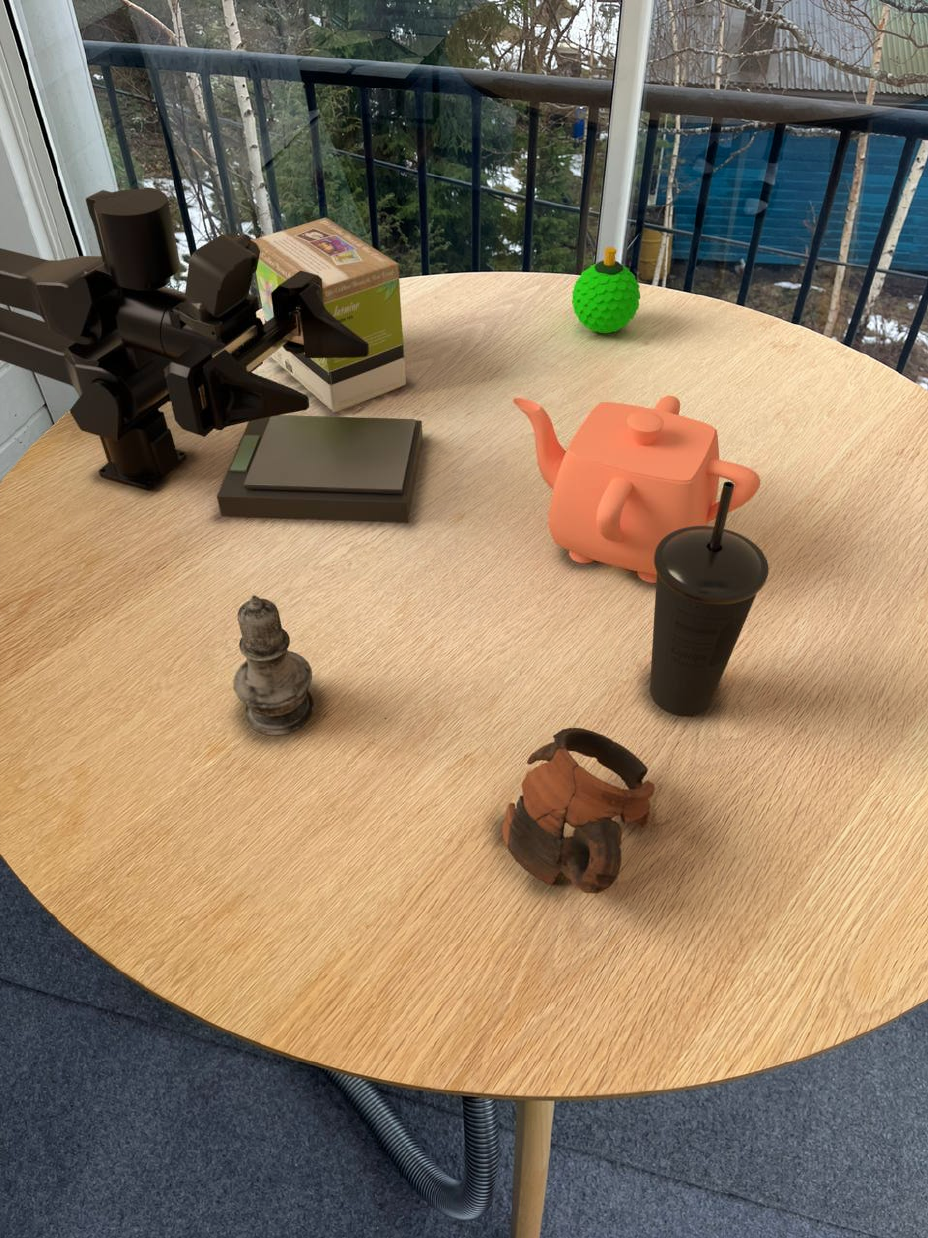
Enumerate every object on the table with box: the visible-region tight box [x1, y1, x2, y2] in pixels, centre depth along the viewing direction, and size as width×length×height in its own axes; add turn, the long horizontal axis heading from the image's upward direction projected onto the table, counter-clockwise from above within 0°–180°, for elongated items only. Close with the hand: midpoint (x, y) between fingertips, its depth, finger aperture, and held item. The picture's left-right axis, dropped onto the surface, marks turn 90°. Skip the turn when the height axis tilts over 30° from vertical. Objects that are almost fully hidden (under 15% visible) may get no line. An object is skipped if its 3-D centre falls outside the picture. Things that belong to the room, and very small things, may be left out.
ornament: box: [571, 246, 641, 334], centre depth 112 cm, size 8×8×10 cm
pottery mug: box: [501, 727, 656, 894], centre depth 62 cm, size 12×10×8 cm
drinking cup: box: [649, 481, 770, 717], centre depth 66 cm, size 8×8×20 cm
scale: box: [216, 417, 424, 524], centre depth 94 cm, size 18×14×3 cm
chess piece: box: [232, 594, 315, 737], centre depth 69 cm, size 6×6×12 cm
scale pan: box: [244, 414, 417, 494], centre depth 92 cm, size 15×12×1 cm
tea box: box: [250, 217, 407, 413], centre depth 104 cm, size 15×10×15 cm, turn 36°
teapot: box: [512, 395, 761, 584], centre depth 82 cm, size 17×16×13 cm
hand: (339, 375), depth 76 cm, fingers open, 9 cm apart
